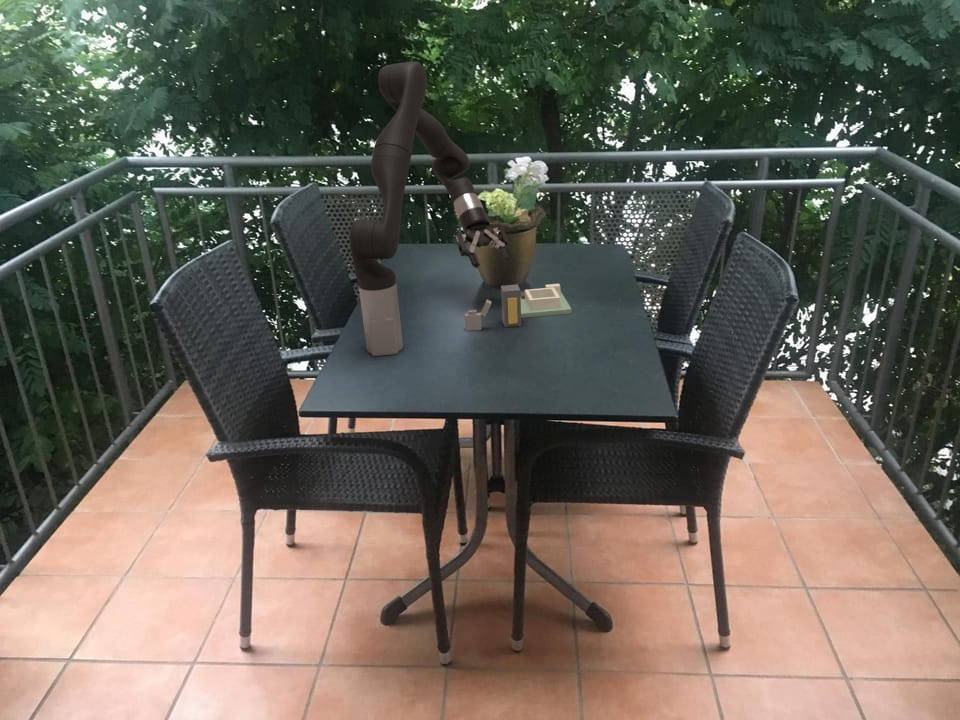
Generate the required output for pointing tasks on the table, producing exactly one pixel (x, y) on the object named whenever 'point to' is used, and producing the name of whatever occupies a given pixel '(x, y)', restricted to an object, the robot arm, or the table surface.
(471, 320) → the lighter
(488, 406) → the table surface
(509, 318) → the grey yellow block
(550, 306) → the board
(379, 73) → the robot arm
